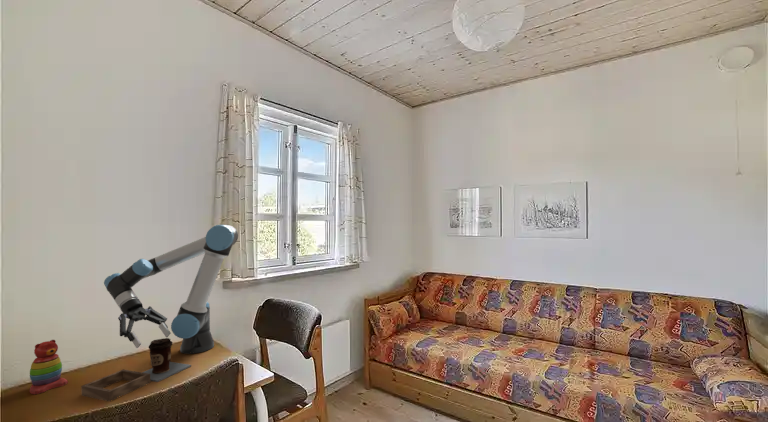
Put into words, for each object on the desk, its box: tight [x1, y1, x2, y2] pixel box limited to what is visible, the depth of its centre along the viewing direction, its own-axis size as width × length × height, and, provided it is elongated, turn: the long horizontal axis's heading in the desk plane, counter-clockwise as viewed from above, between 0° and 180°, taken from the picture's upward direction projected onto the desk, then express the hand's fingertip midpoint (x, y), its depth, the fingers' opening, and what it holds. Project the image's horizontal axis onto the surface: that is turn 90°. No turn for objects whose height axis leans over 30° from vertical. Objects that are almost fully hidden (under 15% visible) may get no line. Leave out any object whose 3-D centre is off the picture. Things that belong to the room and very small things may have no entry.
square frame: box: [80, 369, 151, 402], centre depth 139 cm, size 15×15×4 cm
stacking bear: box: [29, 339, 69, 395], centre depth 143 cm, size 11×10×18 cm
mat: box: [142, 361, 192, 383], centre depth 154 cm, size 16×14×1 cm
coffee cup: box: [148, 337, 173, 374], centre depth 154 cm, size 9×8×13 cm
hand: (154, 340), depth 155 cm, fingers open, 13 cm apart
